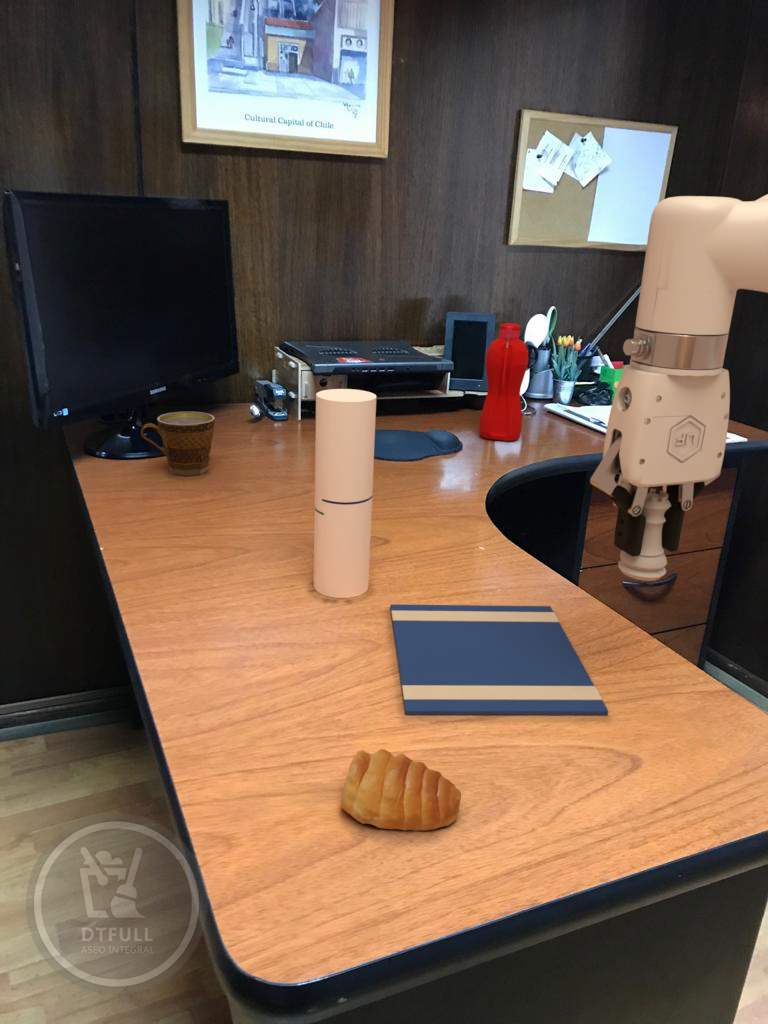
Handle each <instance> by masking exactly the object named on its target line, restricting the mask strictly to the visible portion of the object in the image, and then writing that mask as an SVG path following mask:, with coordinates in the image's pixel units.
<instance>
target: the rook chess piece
mask: <svg viewBox="0 0 768 1024" xmlns="http://www.w3.org/2000/svg"><path fill="white" fill-rule="evenodd" d="M670 507H671V503H670V502H669V500H668V494H666V492H665V491H663V489H662V490H659V493H657V488H650V491H649V492H647V495H646V499H645V502H644V506H643V509H642V512H641V514H642V515H644V516H646V524H645V530H644V536H643V542H642V548H641V553H640V555H639V556H634V557H632V556H631V555H629V554H627V553H626V552H624V551H623V550H621V551H620V553H619V558H620V560H619V561H617V567H618V569H619V570H620V572H621V573H622V574H623V575H624V576H626V577H628V578H630V579H634V580H638V581H645V582H652V581H657V580H660V579H661V578H663V577H664V576H665V574H667V569H666V566H667V565H668V560H667V556H666V555H665V548H664V547H662V527H663V523H664V522H665V521H666V519H665V517H664V513H665V511H666V510H667V509H669V508H670Z"/></svg>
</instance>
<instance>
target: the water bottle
mask: <svg viewBox="0 0 768 1024" xmlns="http://www.w3.org/2000/svg"><path fill="white" fill-rule="evenodd" d="M498 333H499V334H498V338H496V339H494V340H492V341H491V343H490V345H489V347H488V348H487V349H486V355H485V361H484V362H485V371H486V380H487V393H486V396H485V399H484V404H483V407H482V409H481V413H480V418H479V425H478V433H479V435H480V437H481V438H483V439H486V440H492V441H503V442H515V441H516V440H518V439H519V438H520V436H521V434H522V426H523V411H522V401H521V387H522V384H523V381H524V378H525V374H526V372H527V369H528V365H529V349H528V347H527V344H526V343H525V342H524V341H523V340H522V339H520V333H521V325H520V324H518V323H512V322H506V323H505V322H504V323H500V324H499V332H498Z"/></svg>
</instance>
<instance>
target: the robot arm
mask: <svg viewBox="0 0 768 1024" xmlns="http://www.w3.org/2000/svg"><path fill="white" fill-rule="evenodd" d="M645 249H646V250H645V256H644V262H643V270H642V278H641V284H640V291H639V297H638V298H639V299H638V305H637V312H636V317H635V327H634V331H633V338H628V339H625V341H624V343H623V345H622V351H623V353H624V354H625V356H630V359H629V364H626V365H624V367H623V369H622V372H621V375H620V377H619V380H618V383H617V385H616V389H615V392H614V397H613V400H612V403H611V407H610V411H609V417H608V421H607V425H606V432H605V437H604V443H603V451H602V452H603V453H602V459H601V461H600V462H599V464H598V465H597V467H596V468H595V470H594V472H593V474H592V475H591V477H590V479H589V481H590V482H589V483H590V485H592V486H593V487H595V488H597V489H598V490H600V491H601V492H604V493H605V494H606V496H608V498H609V499H610V500H611V501H612V504H613V506H614V507H616V508H617V509H618V510H617V514H616V522H615V529H614V539H613V545H614V546H615V547H616V548H618V549H620V550H621V551H622V550H623V551H624V552H626V553H627V554H629V555H631V556H632V557H634V556H639V555H640V553H641V548H642V542H643V536H644V530H645V524H646V516H644V515H642V514H641V512H642V509H643V506H644V502H645V499H646V495H647V493H649V488H653V487H662V491H665V492H666V494H668V500H669V502H670V503H671V507H670V508H669V509H667V510H666V511H665V513H664V517H665V519H666V521H665V522H664V523H663V527H662V548H663V549H664V550H667V551H668V552H670V553H671V552H672V553H673V552H677V551H678V550H679V546H680V540H681V533H682V527H683V523H684V518H685V512H687V511H690V510H691V508H692V506H693V502H694V499H695V498H696V497H697V496H698V495H699V494H700V493H701V492H702V491H703V490H704V488H705V487H706V486H708V485H709V484H710V483H712V482H714V481H715V480H717V479H718V478H719V477H720V476H721V473H722V471H721V470H722V467H723V461H724V457H725V450H726V445H727V436H728V428H729V419H730V405H731V404H730V403H731V386H730V372H729V370H728V369H726V368H723V366H724V361H725V355H726V350H727V344H728V340H729V334H730V328H731V323H732V317H733V312H734V307H735V301H736V296H737V292H738V290H747V291H755V292H761V293H767V294H768V193H767V194H765V195H763V196H761V197H759V198H757V199H756V200H750V201H743V200H741V199H738V198H734V197H727V196H708V195H707V196H706V195H697V196H696V195H679V196H670V197H667V198H664V199H662V200H661V201H659V202H658V203H657V204H656V205H655V207H654V209H653V211H652V213H651V217H650V222H649V227H648V235H647V242H646V248H645ZM617 475H619V477H618V480H617V481H616V480H615V479H616V476H617ZM632 487H633V488H632ZM631 489H632V492H631Z"/></svg>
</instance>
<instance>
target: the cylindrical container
mask: <svg viewBox="0 0 768 1024" xmlns="http://www.w3.org/2000/svg"><path fill="white" fill-rule="evenodd" d="M376 414H377V395H376V394H375V393H373V392H370V391H368V390H367V391H366V390H362V389H355V388H354V389H352V388H332V389H323V390H320V391H318V392H316V393H315V440H314V441H315V445H314V450H315V451H314V453H315V454H314V517H313V518H314V520H313V521H314V522H313V523H314V524H313V525H314V527H313V528H314V529H313V531H314V533H313V539H314V540H313V588H314V590H315V592H317V593H318V594H320V595H322V596H325V597H329V598H335V599H349V598H350V599H351V598H355V597H356V598H357V597H358V596H362V595H364V594H365V593H366V592H367V591H368V590H369V585H370V564H371V563H370V562H371V561H370V560H371V537H372V536H371V535H372V533H371V532H372V514H373V493H374V492H373V491H374V490H373V489H374V467H375V466H374V465H375V464H374V463H375V444H376V443H375V439H376V419H377V418H376Z"/></svg>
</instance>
